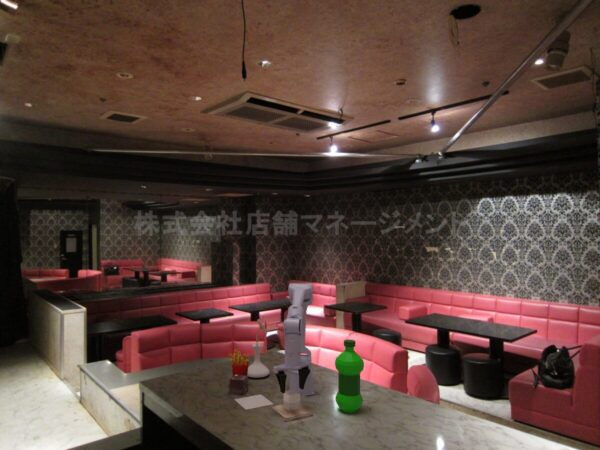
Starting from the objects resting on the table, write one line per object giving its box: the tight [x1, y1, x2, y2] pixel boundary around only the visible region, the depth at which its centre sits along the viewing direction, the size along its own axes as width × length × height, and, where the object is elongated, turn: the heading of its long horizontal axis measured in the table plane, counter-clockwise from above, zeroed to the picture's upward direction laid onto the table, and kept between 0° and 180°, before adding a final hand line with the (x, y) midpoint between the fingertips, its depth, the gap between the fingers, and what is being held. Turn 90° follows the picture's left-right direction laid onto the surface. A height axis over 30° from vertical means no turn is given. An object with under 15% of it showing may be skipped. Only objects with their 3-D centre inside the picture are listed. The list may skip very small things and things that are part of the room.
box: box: [228, 375, 249, 396], centre depth 167 cm, size 6×6×7 cm
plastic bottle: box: [334, 339, 365, 414], centre depth 154 cm, size 10×10×25 cm
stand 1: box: [234, 394, 274, 410], centre depth 157 cm, size 11×11×2 cm
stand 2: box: [271, 402, 314, 424], centre depth 150 cm, size 11×11×2 cm
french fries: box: [228, 349, 250, 377], centre depth 176 cm, size 9×8×15 cm
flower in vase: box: [247, 319, 270, 379], centre depth 193 cm, size 13×11×25 cm
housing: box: [282, 389, 301, 413], centre depth 150 cm, size 4×4×6 cm
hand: (292, 390), depth 150 cm, fingers open, 7 cm apart
